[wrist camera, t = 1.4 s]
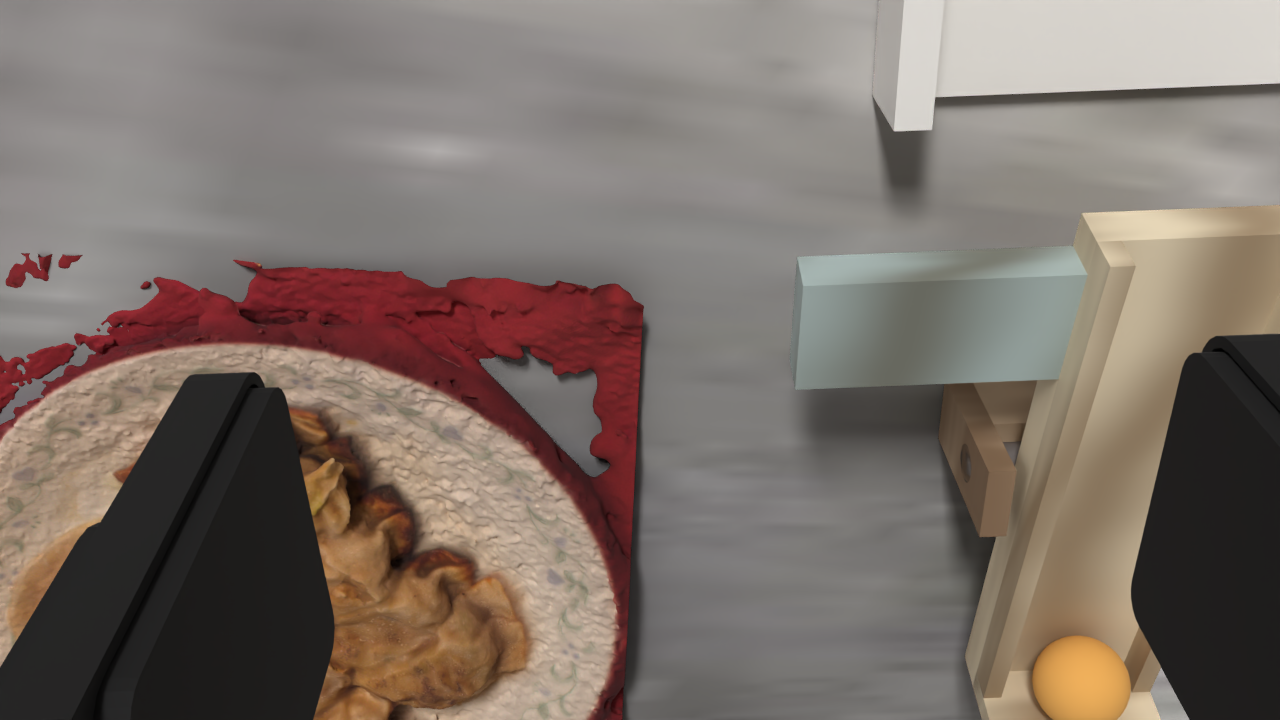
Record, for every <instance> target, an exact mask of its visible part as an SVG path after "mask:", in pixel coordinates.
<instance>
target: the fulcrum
mask: <svg viewBox="0 0 1280 720" xmlns="http://www.w3.org/2000/svg"><path fill="white" fill-rule="evenodd" d="M1037 381H1038V380H1028V381H1003V382H978V383H953V384H944V392H943V401H942V410H941V418H940V427H939V436H938V439H939V441H940V443H941V446H942V448H943V451H944V453H945V455H946V458H947V460H948V463H949V465H950V467H951V470H952V472H953V475H954V477H955V479H956V482H957V484H958V487H959V489H960V491H961V494H962V496H963V499H964V501H965V503H966V506H967V508H968V511H969V513H970V515H971V518H972V520H973V523H974V525H975V527H976V530H977V532H978V535H979V537H997V536H1006V535H1007V529H1008V523H1009V516H1010V510H1011V504H1012V498H1013V491H1014V485H1015V479H1016V472H1017V470H1016V468H1015V464H1016V460H1017V456H1018V453H1019V449H1020V445H1021V441H1022V437H1023V434H1024V430H1025V426H1026V422H1027V418H1028V415H1029V411H1030V407H1031V403H1032V400H1033V396H1034V392H1035V388H1036V384H1037Z"/></svg>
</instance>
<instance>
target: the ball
mask: <svg viewBox="0 0 1280 720" xmlns="http://www.w3.org/2000/svg"><path fill="white" fill-rule="evenodd" d="M1032 683H1033V689H1034V693H1035V696H1036V699H1037V701H1038V703H1039V704H1040V706H1041V708H1042V709H1043V710H1044V711H1045V713H1046V714H1047V715H1048V716H1049V717H1050V718H1052V719H1053V720H1117V719H1118V718H1119V717H1120V716H1121V715H1122V713H1123V712H1124V710H1125V709H1126V707H1127V704H1128V702H1129V698H1130V692H1131V683H1130V677H1129V674H1128V670H1127V668H1126V666H1125V664H1124V662H1123V661H1122V659H1121V658H1120V657H1119V655H1118V654H1117V653H1116V652H1115V651H1114V650H1113V649H1112V648H1110V647H1109V646H1108V645H1106V644H1105V643H1103V642H1101V641H1099V640H1097V639H1094V638H1091V637H1087V636H1067V637H1063V638H1060V639H1058V640H1056V641H1054V642H1052V643H1051V644H1049V645H1048V646H1047V647H1046V648H1045V649H1044V650H1043V651H1042V652H1041V653H1040V655H1039V656H1038V658H1037V660H1036V662H1035V665H1034V669H1033V675H1032Z"/></svg>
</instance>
